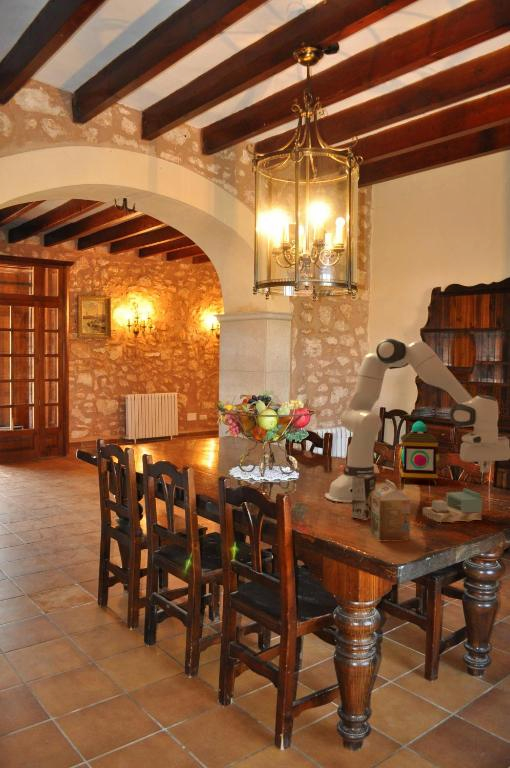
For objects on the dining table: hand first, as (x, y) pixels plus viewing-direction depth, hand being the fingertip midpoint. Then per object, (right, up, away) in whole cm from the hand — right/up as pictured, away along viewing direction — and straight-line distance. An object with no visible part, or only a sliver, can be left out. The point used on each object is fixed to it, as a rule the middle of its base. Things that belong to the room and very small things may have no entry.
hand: (484, 472), depth 238 cm
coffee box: (-48, -17, -2) cm, 51 cm away
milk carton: (-43, -19, -26) cm, 54 cm away
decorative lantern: (-9, -14, +65) cm, 67 cm away
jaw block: (-19, -17, -3) cm, 25 cm away
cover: (-9, -14, -1) cm, 16 cm away
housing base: (-14, -17, -2) cm, 22 cm away
